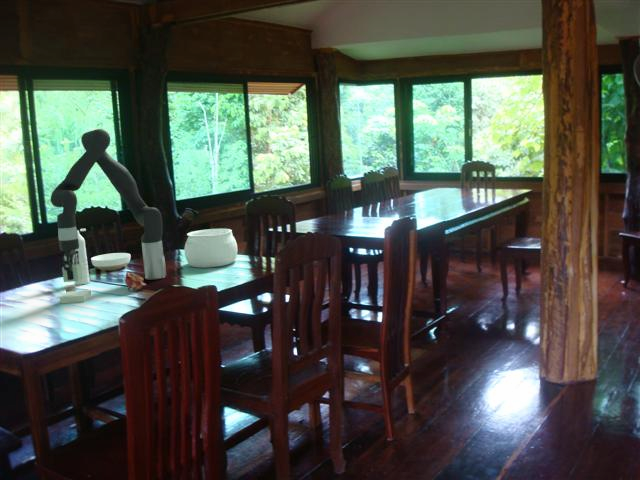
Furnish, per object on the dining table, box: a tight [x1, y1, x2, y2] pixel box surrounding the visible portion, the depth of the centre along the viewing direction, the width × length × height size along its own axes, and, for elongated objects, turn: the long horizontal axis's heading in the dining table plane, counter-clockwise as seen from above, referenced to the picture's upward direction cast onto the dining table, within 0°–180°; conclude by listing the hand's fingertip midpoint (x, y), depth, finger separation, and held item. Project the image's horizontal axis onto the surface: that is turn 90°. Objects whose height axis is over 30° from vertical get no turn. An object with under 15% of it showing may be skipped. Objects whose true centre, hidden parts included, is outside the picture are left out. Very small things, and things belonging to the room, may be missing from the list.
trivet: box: [59, 289, 93, 304], centre depth 287 cm, size 10×10×2 cm
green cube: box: [61, 264, 83, 283], centre depth 285 cm, size 6×6×6 cm
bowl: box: [90, 252, 132, 271], centre depth 350 cm, size 20×20×6 cm
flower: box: [124, 271, 147, 292], centre depth 297 cm, size 10×9×8 cm
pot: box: [184, 228, 239, 269], centre depth 345 cm, size 29×26×16 cm
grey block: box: [64, 283, 77, 293], centre depth 296 cm, size 4×4×4 cm
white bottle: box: [74, 228, 91, 286], centre depth 317 cm, size 9×6×25 cm
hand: (73, 277), depth 285 cm, fingers closed on green cube, 6 cm apart
